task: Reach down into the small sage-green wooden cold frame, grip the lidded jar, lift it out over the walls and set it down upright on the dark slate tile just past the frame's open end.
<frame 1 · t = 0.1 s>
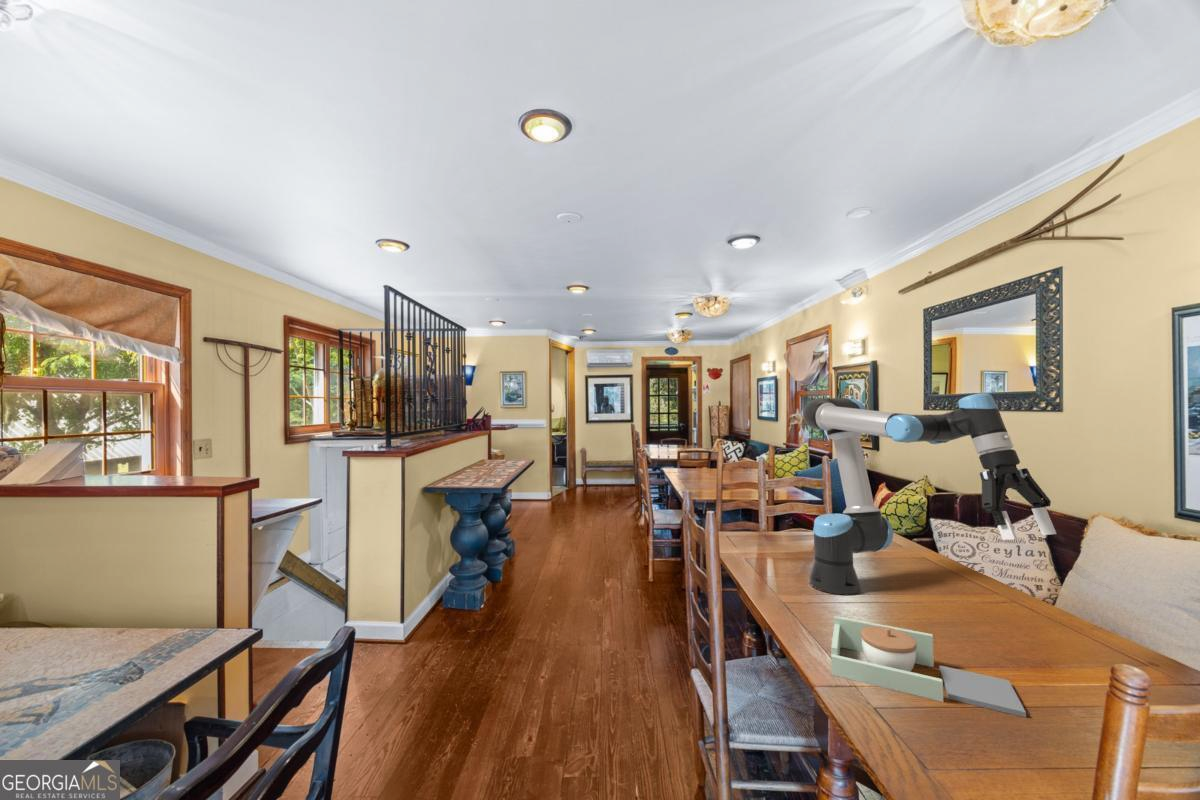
hand: (1030, 537, 111), 28 cm above the table, tool tilted 20°, fingers open, 13 cm apart
slate tile: (979, 691, 96), on the table
cold frame: (888, 670, 104), on the table
lidded jar: (888, 672, 104), resting in cold frame
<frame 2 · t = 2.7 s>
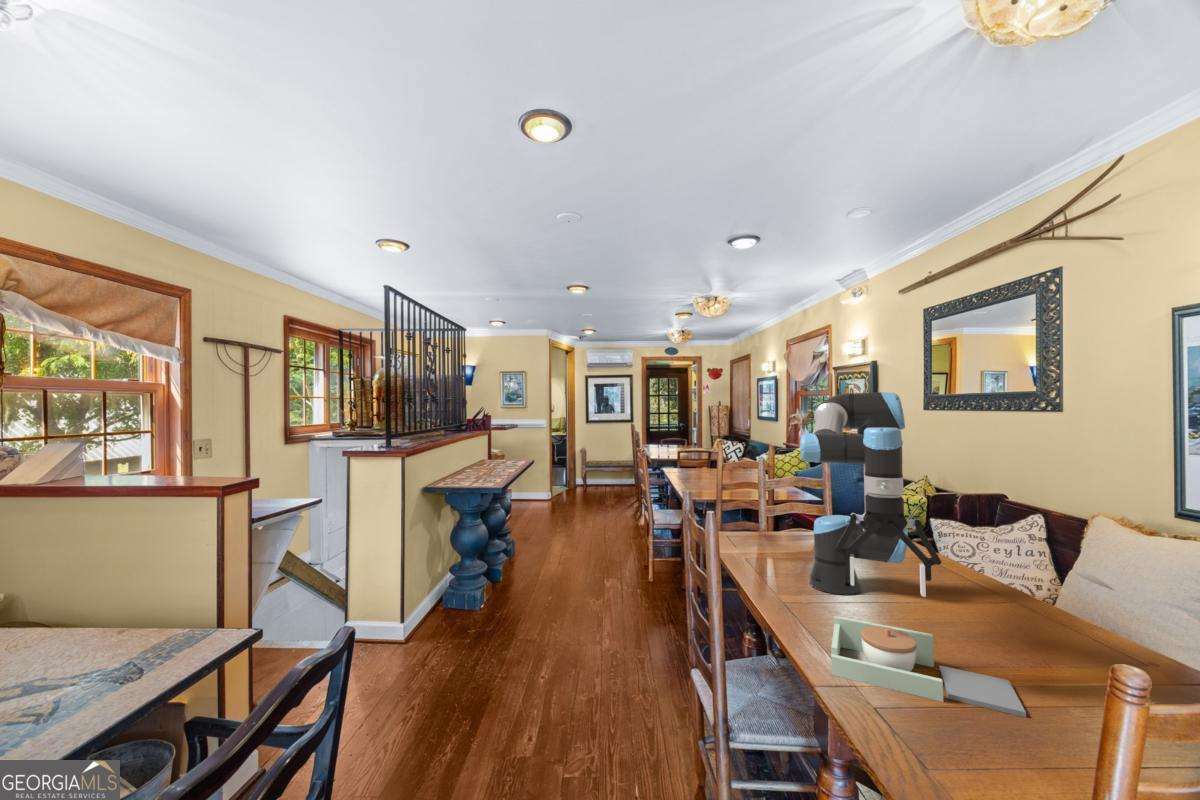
hand: (886, 589, 104), 18 cm above the table, tool pointing down, fingers open, 13 cm apart
nothing on the table moved.
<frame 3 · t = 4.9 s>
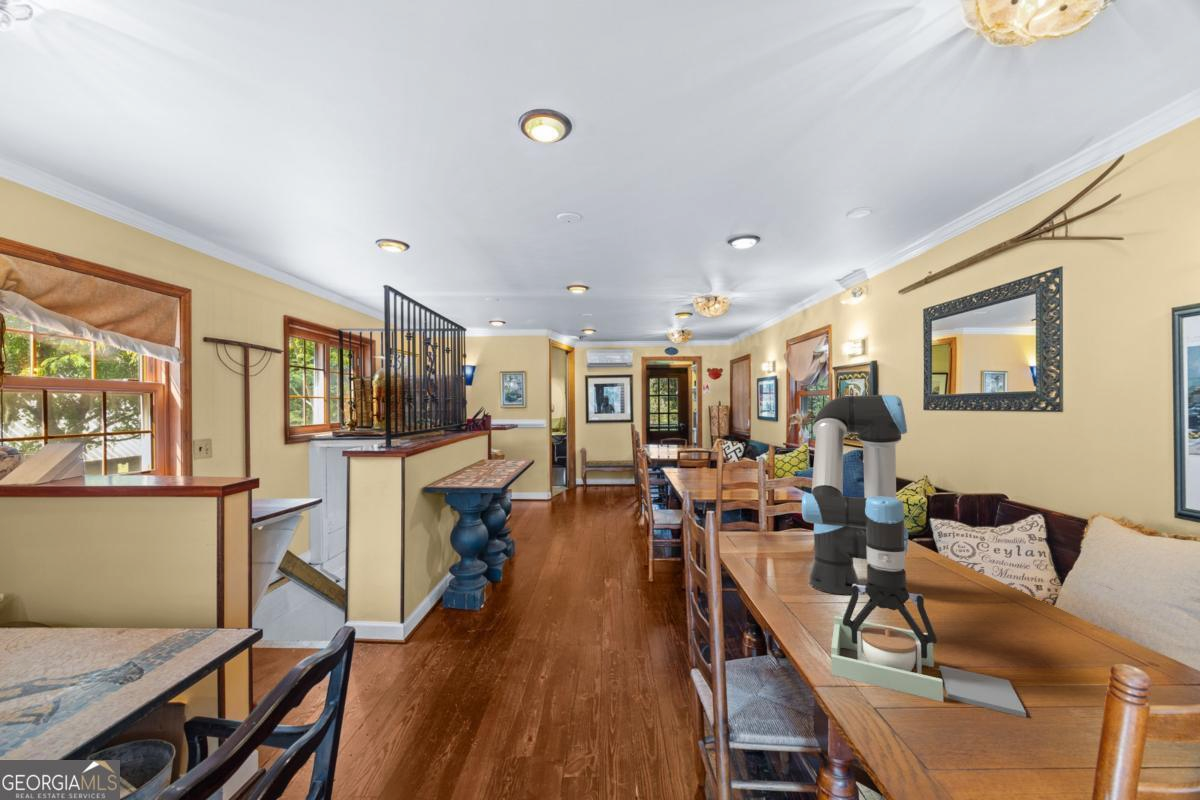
hand: (888, 664, 104), 1 cm above the table, tool pointing down, fingers closed on lidded jar, 11 cm apart
lidded jar: (889, 671, 104), resting in cold frame, touching gripper
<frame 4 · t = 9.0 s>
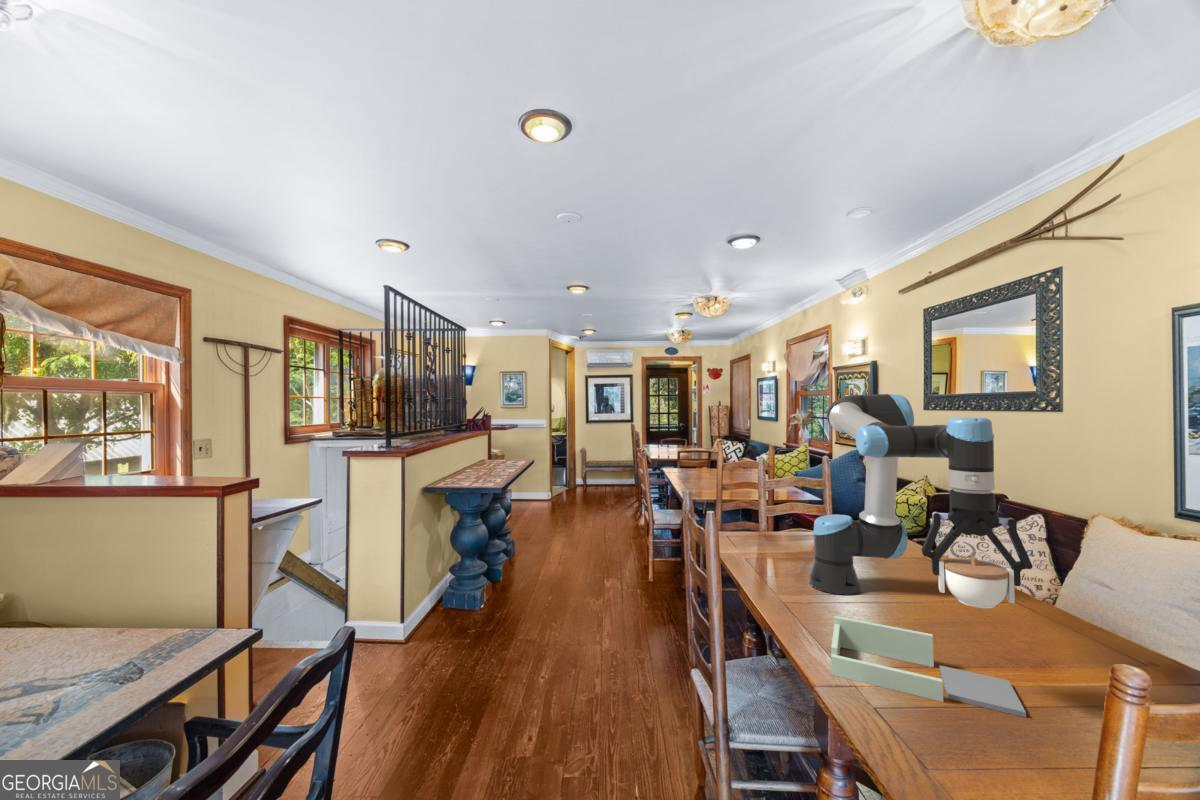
hand: (975, 595, 96), 20 cm above the table, tool pointing down, fingers closed on lidded jar, 11 cm apart
lidded jar: (975, 603, 96), point 18 cm above the table, touching gripper
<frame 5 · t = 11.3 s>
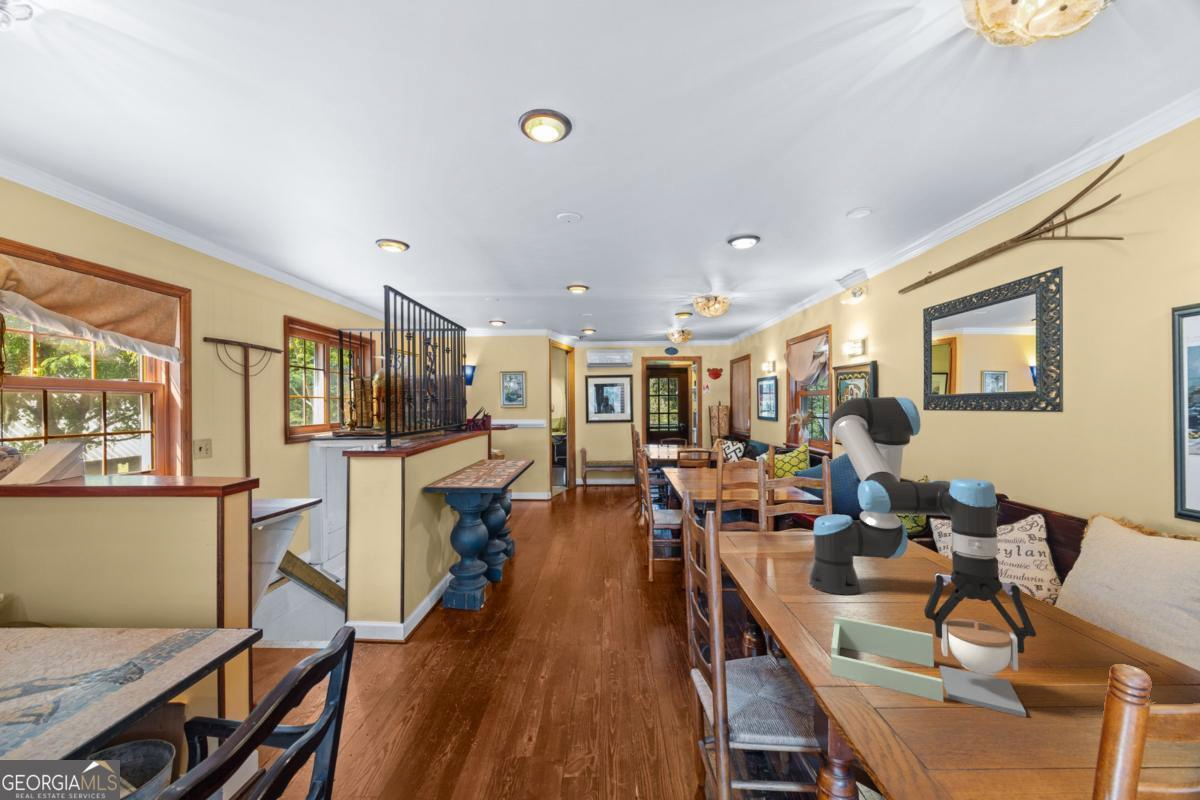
hand: (978, 660, 96), 7 cm above the table, tool pointing down, fingers closed on lidded jar, 11 cm apart
lidded jar: (978, 668, 96), point 5 cm above the table, touching gripper
when the fingers open (4 cm above the table, at t = 13.0 s): lidded jar drops 1 cm, resting on slate tile.
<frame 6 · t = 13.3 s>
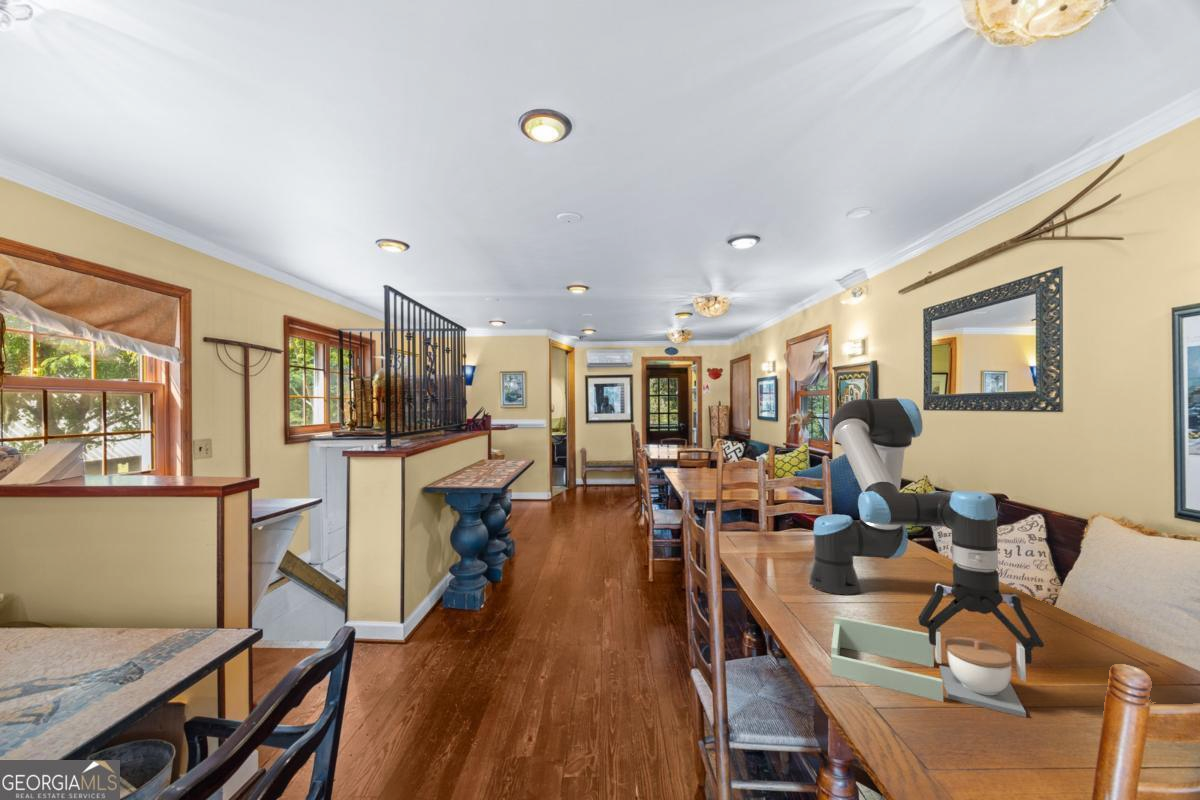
hand: (978, 668, 96), 5 cm above the table, tool pointing down, fingers open, 13 cm apart
lidded jar: (978, 687, 96), point 1 cm above the table, touching slate tile
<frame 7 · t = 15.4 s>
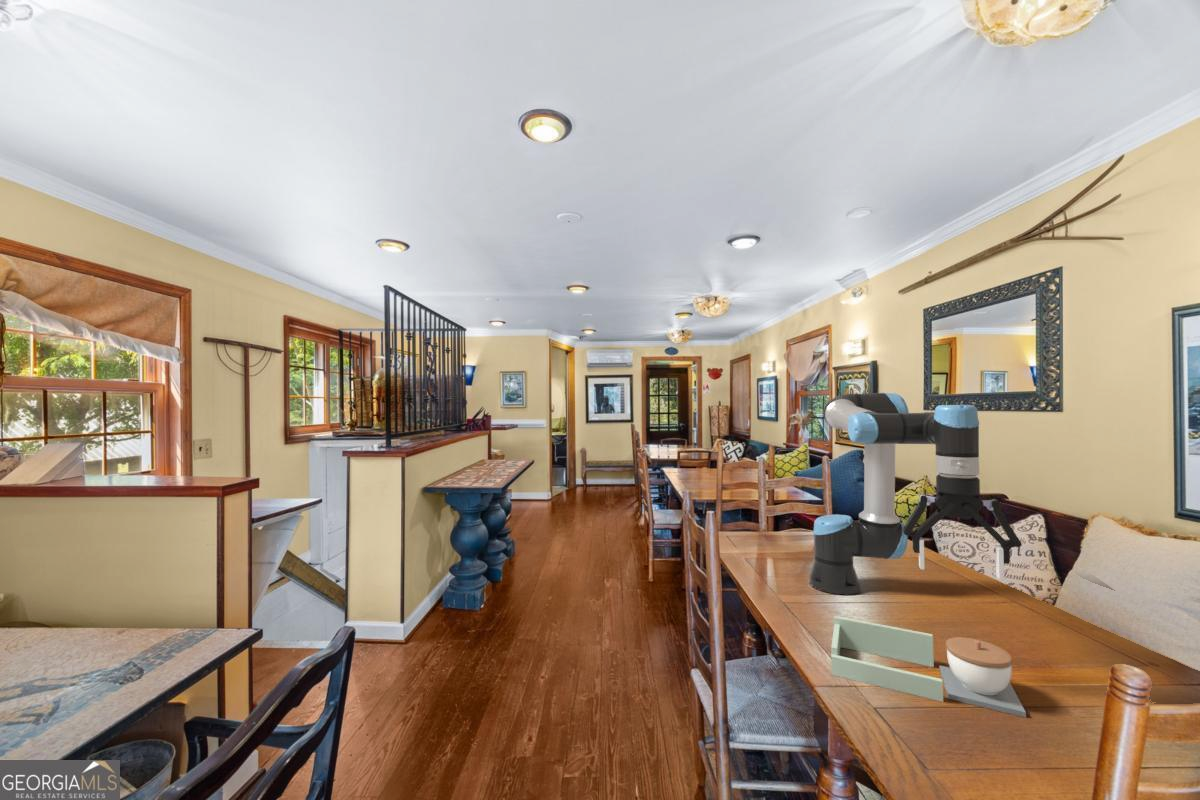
hand: (959, 572, 100), 23 cm above the table, tool pointing down, fingers open, 13 cm apart
nothing on the table moved.
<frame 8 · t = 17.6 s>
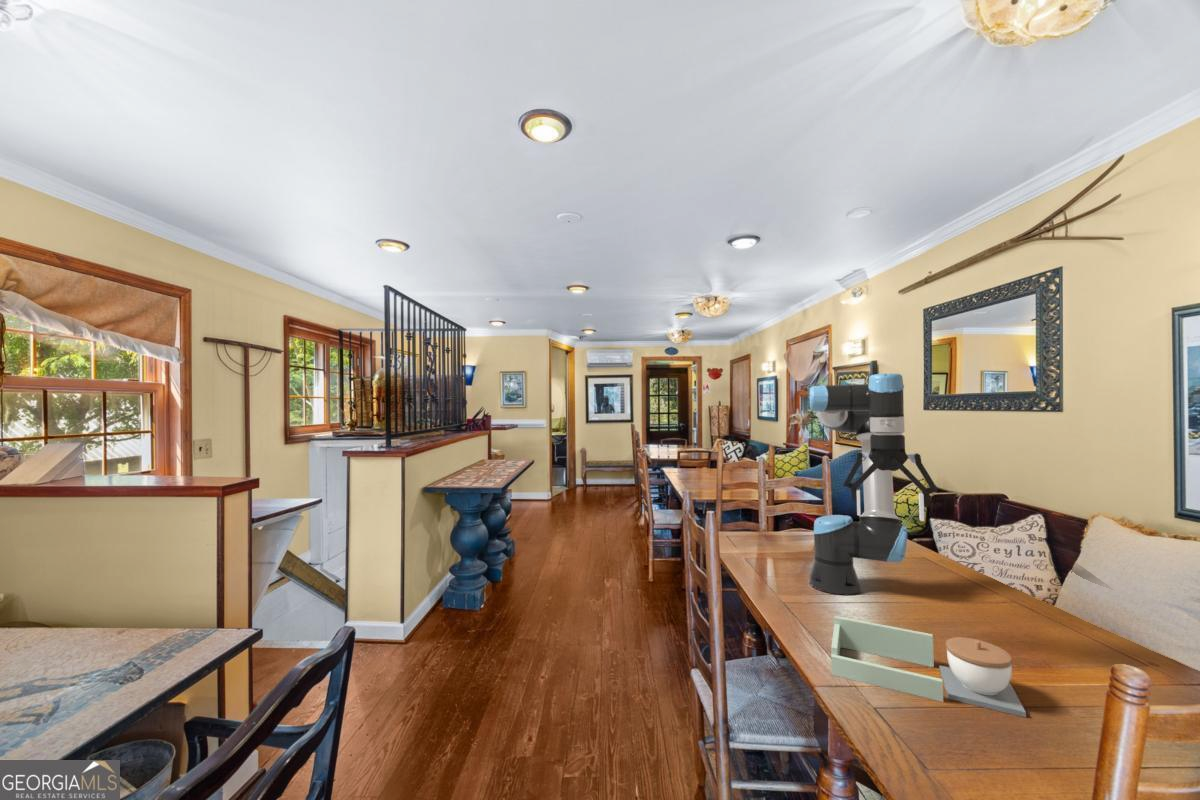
hand: (889, 517, 117), 32 cm above the table, tool pointing down, fingers open, 13 cm apart
nothing on the table moved.
at the end: lidded jar inside the target area on the slate tile (0.0 cm from its centre), point 0.8 cm above the slate tile's base; lidded jar tilted 0°; the gripper is holding nothing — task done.
